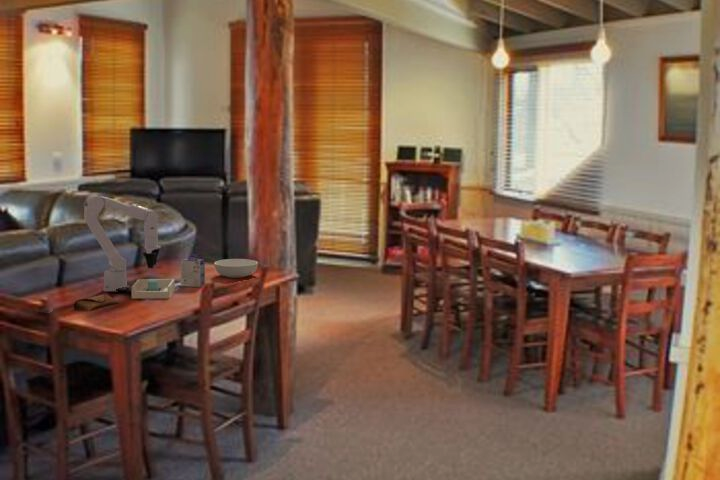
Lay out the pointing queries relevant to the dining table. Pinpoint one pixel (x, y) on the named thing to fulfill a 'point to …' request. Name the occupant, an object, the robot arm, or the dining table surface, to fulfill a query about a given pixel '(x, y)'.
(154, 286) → the block
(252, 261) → the serving bowl
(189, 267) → the ink cartridge box
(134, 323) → the dining table surface
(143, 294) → the walled box
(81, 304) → the sunglasses case
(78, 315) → the dining table surface
